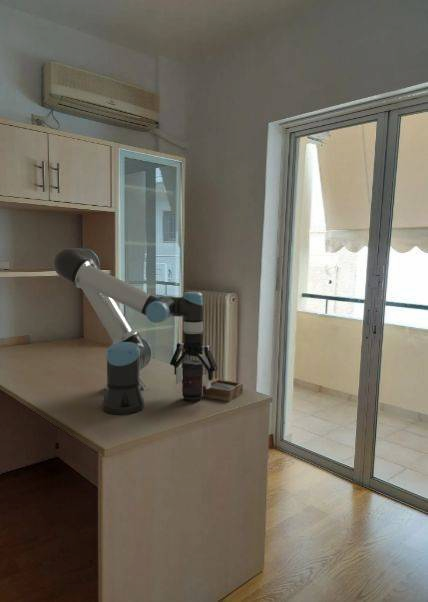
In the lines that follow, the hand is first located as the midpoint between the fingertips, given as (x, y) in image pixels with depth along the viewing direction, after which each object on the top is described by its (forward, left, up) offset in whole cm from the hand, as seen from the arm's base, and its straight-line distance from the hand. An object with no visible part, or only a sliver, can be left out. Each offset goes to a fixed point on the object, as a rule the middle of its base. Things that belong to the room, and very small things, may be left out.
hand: (193, 385), depth 174 cm
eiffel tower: (-3, +31, -6) cm, 32 cm away
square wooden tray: (+11, -7, -6) cm, 15 cm away
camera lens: (0, 0, -6) cm, 6 cm away
